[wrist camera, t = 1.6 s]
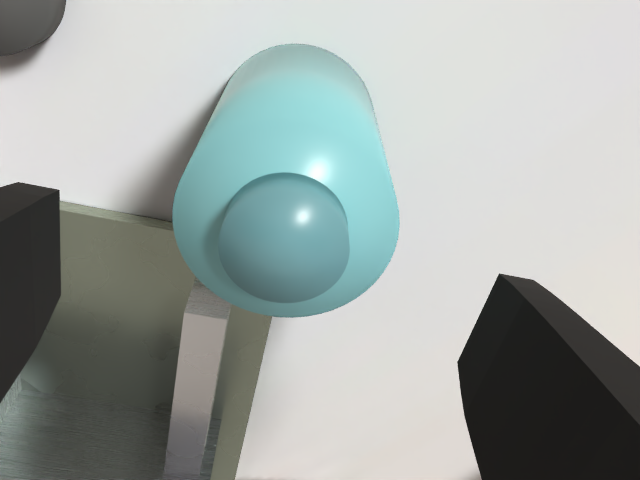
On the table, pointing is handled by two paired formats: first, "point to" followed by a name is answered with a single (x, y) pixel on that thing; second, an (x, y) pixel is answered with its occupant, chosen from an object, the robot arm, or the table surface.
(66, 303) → the motor
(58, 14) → the dark grey rounded piece
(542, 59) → the table surface
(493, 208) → the table surface
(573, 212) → the table surface
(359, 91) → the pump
